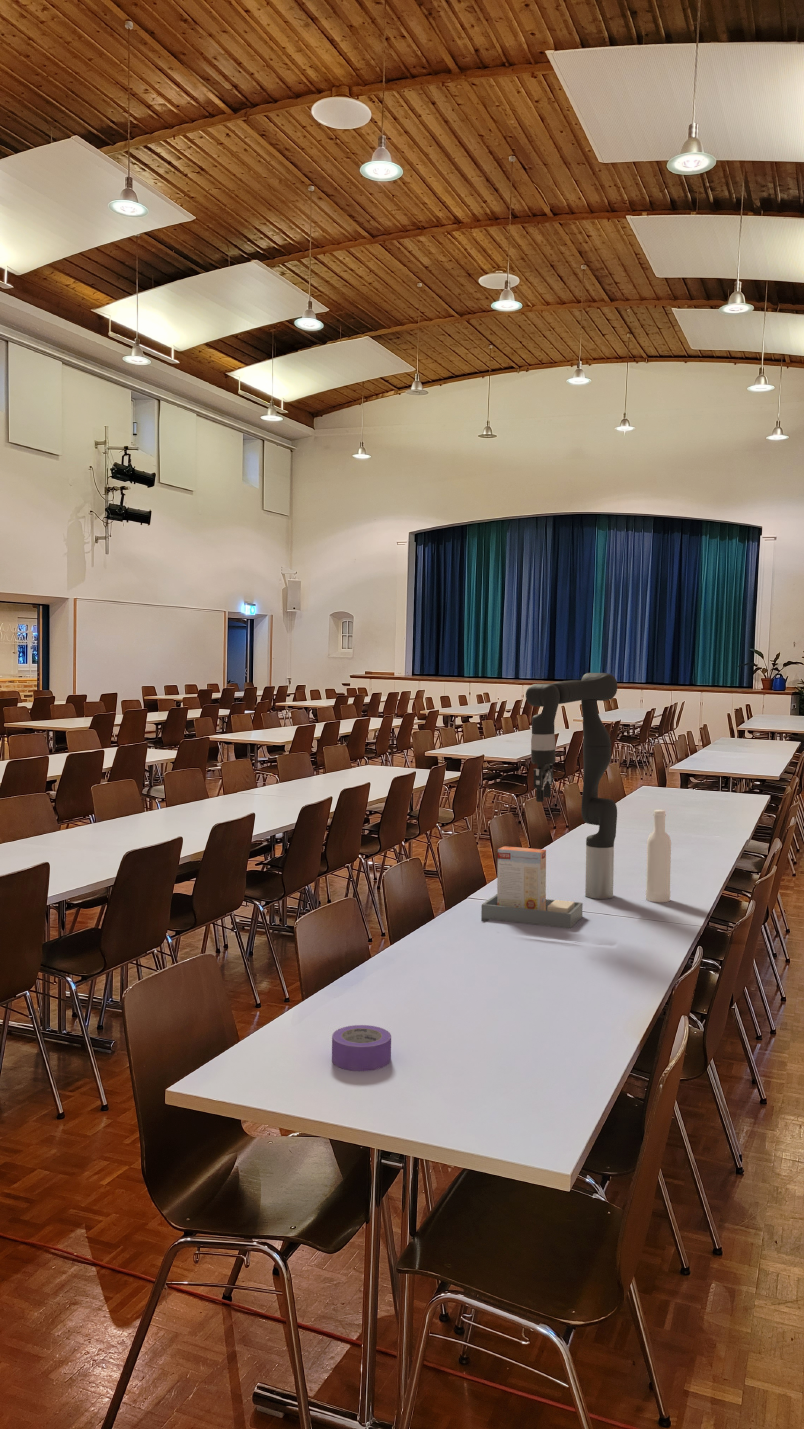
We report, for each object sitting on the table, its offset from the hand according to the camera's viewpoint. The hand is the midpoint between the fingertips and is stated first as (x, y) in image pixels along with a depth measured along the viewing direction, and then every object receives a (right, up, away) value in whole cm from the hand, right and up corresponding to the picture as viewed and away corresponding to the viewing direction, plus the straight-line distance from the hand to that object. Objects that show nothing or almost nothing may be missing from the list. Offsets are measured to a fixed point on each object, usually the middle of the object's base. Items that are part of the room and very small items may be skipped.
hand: (543, 799), depth 314 cm
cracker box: (-8, -36, -5) cm, 37 cm away
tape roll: (-52, -42, -115) cm, 133 cm away
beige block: (+4, -36, -10) cm, 37 cm away
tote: (-5, -36, -7) cm, 37 cm away
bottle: (+41, -35, +20) cm, 57 cm away
